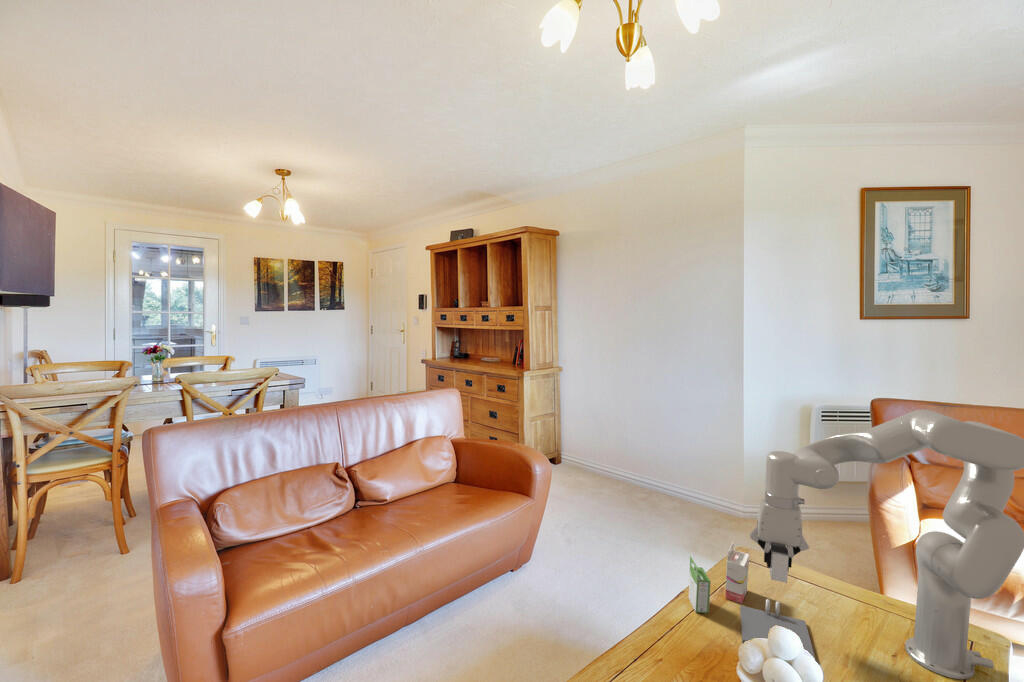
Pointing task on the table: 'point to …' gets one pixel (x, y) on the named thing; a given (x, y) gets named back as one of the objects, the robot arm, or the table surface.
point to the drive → (779, 562)
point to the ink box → (699, 588)
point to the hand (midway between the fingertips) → (777, 566)
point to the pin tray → (771, 624)
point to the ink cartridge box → (736, 575)
